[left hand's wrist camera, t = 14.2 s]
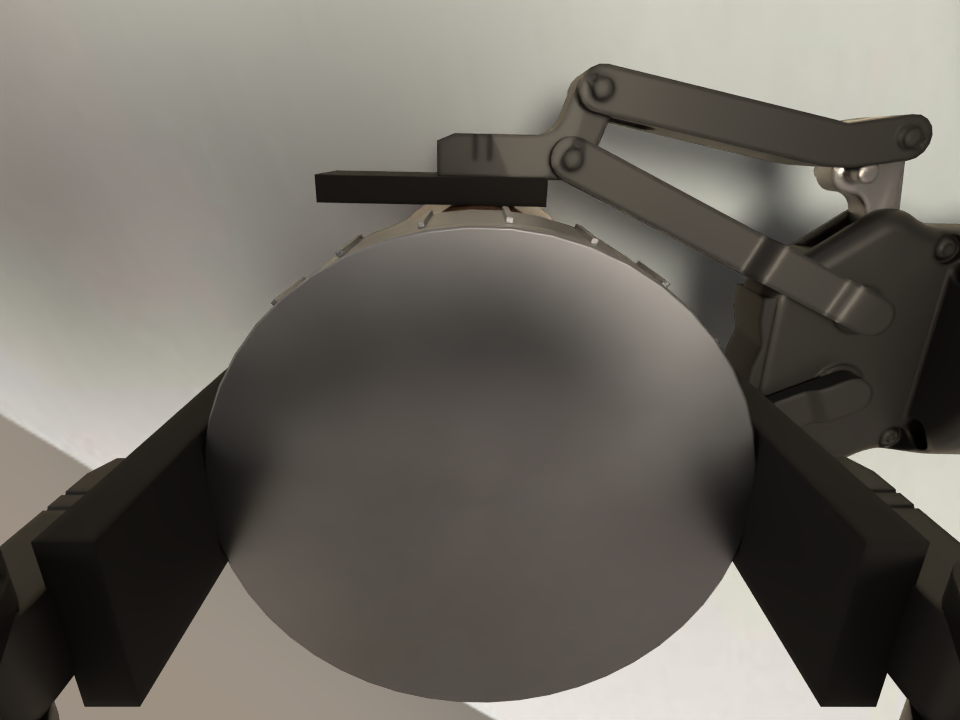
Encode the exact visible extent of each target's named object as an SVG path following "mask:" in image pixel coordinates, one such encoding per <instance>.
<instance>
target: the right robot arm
mask: <svg viewBox="0 0 960 720" xmlns="http://www.w3.org/2000/svg"><path fill="white" fill-rule="evenodd" d="M607 123H611V124H616V125H620V126H624V127H628V128H632V129H637V130H641V131H645V132H649V133H653V134H658V135H662V136H666V137H670V138H674V139H679V140H683V141H687V142H691V143H695V144H700V145H704V146H708V147H712V148H716V149H721V150H725V151H729V152H733V153H737V154H742V155H746V156H750V157H754V158H758V159H763V160H767V161H771V162H776V163H782V164H788V165H802V166H815V168H814V175H815V177H816V179H817V181H818V184H819V185H820V186H821V187H822V188H823V189H825V190H829V191H835V192H839V193H841V194H842V195H843V196H844V197H845V198H846V200H847V202H848V210H846V211H844V212H842V213H841V214H839V215H838V216H836V217H834V218H833V219H831V220H829V221H828V222H826V223H825V224H823V225H821V226H820V227H818V228H817V229H815V230H813V231H812V232H810V233H808V234H807V235H805V236H804V237H802V238H800V239H799V240H797V241H796V242H794V243H792V244H791V245H789V246H786V245H784V244H782V243H780V242H777V241H775V240H773V239H771V238H768V237H766V236H764V235H762V234H761V233H759V232H757V231H755V230H753V229H751V228H749V227H748V226H746V225H744V224H742V223H740V222H738V221H736V220H735V219H733V218H731V217H729V216H727V215H725V214H723V213H722V212H720V211H718V210H716V209H714V208H712V207H710V206H709V205H707V204H705V203H703V202H701V201H699V200H697V199H695V198H694V197H692V196H690V195H688V194H686V193H684V192H682V191H681V190H679V189H677V188H675V187H673V186H671V185H669V184H668V183H666V182H664V181H662V180H660V179H658V178H656V177H655V176H653V175H651V174H649V173H647V172H645V171H643V170H641V169H640V168H638V167H636V166H634V165H632V164H630V163H628V162H627V161H625V160H623V159H621V158H619V157H617V156H615V155H614V154H612V153H610V152H608V151H606V150H604V149H602V148H601V147H599V146H598V144H599V142H600V140H601V137H602V135H603V133H604V130H605V128H606V126H607ZM931 138H932V125H931V124H930V122H929V120H928V119H927V118H926V117H924V116H922V115H916V114H910V115H896V116H881V117H867V118H856V119H849V120H842V121H839V120H835V119H830V118H826V117H822V116H818V115H814V114H810V113H806V112H802V111H798V110H794V109H790V108H786V107H782V106H778V105H774V104H769V103H765V102H761V101H757V100H753V99H749V98H745V97H741V96H737V95H733V94H729V93H725V92H721V91H717V90H712V89H708V88H704V87H700V86H696V85H692V84H688V83H684V82H680V81H676V80H672V79H668V78H664V77H660V76H656V75H651V74H647V73H643V72H639V71H635V70H631V69H627V68H623V67H619V66H615V65H611V64H598V65H596V66H593V67H591V68H590V69H588V70H587V71H585V72H584V73H582V74H581V75H580V76H578V77H577V78H576V79H575V80H574V81H573V82H572V83H571V85H570V87H569V89H568V93H567V98H566V100H565V103H564V105H563V108H562V110H561V113H560V115H559V118H558V120H557V121H556V123H555V125H554V126H553V127H552V128H551V129H550V130H548V131H547V132H546V133H543V134H541V135H508V134H462V133H455V134H452V135H450V136H447V137H445V138H442V139H440V140H437V173H433V172H385V171H338V170H337V171H331V172H326V173H320V174H315V185H316V198H317V202H326V203H374V204H423V205H471V206H519V207H546V201H547V184H548V180H563V181H565V182H567V183H568V184H570V185H572V186H574V187H576V188H578V189H580V190H582V191H584V192H586V193H588V194H590V195H591V196H593V197H595V198H597V199H599V200H601V201H603V202H605V203H607V204H609V205H611V206H613V207H614V208H616V209H618V210H620V211H622V212H624V213H626V214H628V215H630V216H632V217H634V218H636V219H638V220H639V221H641V222H643V223H645V224H647V225H649V226H651V227H653V228H655V229H657V230H659V231H661V232H662V233H664V234H666V235H668V236H670V237H672V238H674V239H676V240H678V241H680V242H682V243H684V244H685V245H687V246H689V247H691V248H693V249H695V250H697V251H699V252H701V253H703V254H705V255H707V256H709V257H710V258H712V259H714V260H716V261H718V262H720V263H722V264H724V265H725V266H727V267H729V268H731V269H733V270H735V271H737V272H739V273H741V274H743V275H745V276H747V277H748V278H747V279H746V281H745V283H744V284H737V288H736V294H735V299H734V305H733V306H734V317H735V330H734V332H733V334H732V336H731V338H730V340H729V343H728V345H727V347H726V350H725V355H726V357H727V358H728V360H729V361H730V363H731V365H732V366H733V368H734V369H735V370H736V371H737V372H738V373H739V374H740V375H741V376H743V377H744V378H745V379H746V380H747V381H748V382H749V383H751V384H752V385H753V386H754V387H755V388H756V389H757V390H758V391H760V392H761V393H762V394H763V395H764V396H765V397H766V398H768V399H769V400H770V401H771V402H772V403H773V404H774V405H775V406H777V407H778V408H779V409H780V410H781V411H782V412H783V413H785V414H786V415H787V416H788V417H789V418H790V419H791V420H792V421H794V422H795V423H796V424H797V425H798V426H799V427H800V428H801V429H803V430H804V431H805V432H806V433H807V434H808V435H809V436H811V437H812V438H813V439H814V440H815V441H816V442H817V443H818V444H820V445H821V446H822V447H823V448H824V449H825V450H826V451H828V452H829V453H830V454H831V455H832V456H845V457H848V456H850V455H853V454H855V453H857V452H860V451H863V450H867V449H871V448H888V449H895V450H901V451H908V452H916V453H927V454H960V224H929V223H922V222H920V221H918V220H917V219H915V218H914V217H913V216H911V215H910V214H908V213H906V212H904V211H902V210H899V209H900V200H901V191H902V182H903V174H904V165H905V161H908V160H911V159H914V158H916V157H918V156H919V155H920V154H922V153H923V152H924V151H925V149H926V148H927V147H928V145H929V144H930V141H931Z"/></svg>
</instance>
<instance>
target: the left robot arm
mask: <svg viewBox="0 0 960 720" xmlns="http://www.w3.org/2000/svg"><path fill="white" fill-rule="evenodd" d="M227 369H228V368H227ZM227 369H226V370H225V371H224V372H223V373H221V374H220V375H219V376H218V377H217V378H216V379H215V380H213V381H212V382H211V383H210V384H209V385H208V386H207V387H206V388H204V389H203V390H202V391H201V392H200V393H199V394H198V395H197V396H195V397H194V398H193V399H192V400H191V401H190V402H189V403H187V404H186V405H185V406H184V407H183V408H182V409H181V410H180V411H178V412H177V413H176V414H175V415H174V416H173V417H172V418H170V419H169V420H168V421H167V422H166V423H165V424H164V425H163V426H161V427H160V428H159V429H158V430H157V431H156V432H155V433H154V434H152V435H151V436H150V437H149V438H148V439H147V440H146V441H144V442H143V443H142V444H141V445H140V446H139V447H138V448H137V449H135V450H134V451H133V452H132V453H131V454H130V455H129V456H127V457H126V458H117V459H115V460H113V461H111V462H109V463H107V464H105V465H103V466H101V467H99V468H97V469H95V470H93V471H91V472H89V473H87V474H86V475H85V476H84V477H83V478H81V479H80V480H79V481H78V482H77V483H75V484H74V485H73V486H72V487H71V488H69V489H68V490H67V491H66V494H65V495H61V496H60V497H59V498H57V499H56V500H55V501H54V502H53V503H51V504H50V505H49V506H48V509H47V511H42V512H41V513H39V514H38V515H37V516H36V517H35V518H34V519H32V520H31V521H30V522H29V523H28V524H26V525H25V526H24V527H23V528H22V529H20V530H19V531H18V532H17V533H16V534H14V535H13V536H12V537H11V538H10V539H8V540H7V541H6V542H5V543H4V544H2V545H1V546H0V720H59V714H58V711H57V708H56V705H55V702H54V701H55V699H56V698H57V697H58V695H59V694H60V693H61V692H62V690H63V689H64V688H65V686H66V685H67V684H68V682H69V681H70V680H71V678H72V677H73V676H75V679H76V682H77V684H78V688H79V691H80V694H81V697H82V700H83V703H84V706H85V707H140V706H141V704H142V702H143V701H144V699H145V697H146V696H147V694H148V693H149V691H150V689H151V688H152V686H153V684H154V683H155V681H156V679H157V678H158V676H159V674H160V673H161V671H162V669H163V668H164V666H165V664H166V663H167V661H168V659H169V658H170V656H171V654H172V653H173V651H174V649H175V648H176V646H177V644H178V643H179V641H180V640H181V638H182V636H183V635H184V633H185V631H186V630H187V628H188V626H189V625H190V623H191V621H192V620H193V618H194V617H195V615H196V613H197V612H198V610H199V608H200V607H201V605H202V603H203V602H204V600H205V598H206V597H207V595H208V593H209V592H210V590H211V588H212V587H213V585H214V583H215V582H216V580H217V579H218V577H219V575H220V573H221V572H222V570H223V569H224V567H225V565H226V564H227V562H228V560H227V557H226V555H225V553H224V551H223V549H222V547H221V545H220V543H219V540H218V535H217V531H216V526H215V521H214V516H213V510H212V505H211V500H210V495H209V489H208V484H207V479H206V473H205V443H206V436H207V429H208V423H209V416H210V413H211V410H212V407H213V404H214V401H215V397H216V394H217V391H218V388H219V385H220V383H221V381H222V379H223V377H224V375H225V373H226V371H227ZM734 371H735V373H736V376H737V378H738V380H739V383H740V385H741V388H742V390H743V392H744V395H745V397H746V400H747V404H748V409H749V413H750V417H751V421H752V425H753V429H754V439H755V451H756V470H755V476H754V481H753V487H752V492H751V497H750V502H749V508H748V513H747V518H746V523H745V528H744V533H743V537H742V540H741V543H740V545H739V548H738V550H737V553H736V555H735V557H734V559H733V560H732V561H733V563H734V564H735V566H736V568H737V569H738V571H739V573H740V574H741V576H742V577H743V579H744V581H745V582H746V584H747V586H748V587H749V589H750V591H751V592H752V594H753V596H754V597H755V599H756V601H757V602H758V604H759V606H760V607H761V609H762V611H763V612H764V614H765V615H766V617H767V619H768V620H769V622H770V624H771V625H772V627H773V629H774V630H775V632H776V634H777V635H778V637H779V639H780V640H781V642H782V644H783V645H784V647H785V649H786V650H787V652H788V653H789V655H790V657H791V658H792V660H793V662H794V663H795V665H796V667H797V668H798V670H799V672H800V673H801V675H802V677H803V678H804V680H805V682H806V683H807V685H808V687H809V688H810V690H811V691H812V693H813V695H814V696H815V698H816V700H817V701H818V703H819V705H820V706H821V707H876V705H877V702H878V699H879V696H880V693H881V690H882V687H883V684H884V681H885V678H886V675H887V673H888V674H889V676H890V677H891V678H892V680H893V681H894V682H895V683H896V685H897V686H898V687H899V689H900V690H901V691H902V692H903V694H904V695H905V696H906V698H907V699H906V702H905V705H904V708H903V711H902V714H901V716H900V719H899V720H960V542H958V541H957V540H956V539H955V538H954V537H952V536H951V535H950V534H949V533H948V532H946V531H945V530H944V529H943V528H942V527H940V526H939V525H938V524H937V523H936V522H934V521H933V520H932V519H931V518H929V517H928V516H927V515H926V514H925V513H923V512H922V511H921V510H920V509H915V508H914V504H913V503H911V502H910V501H909V500H908V499H907V498H905V497H904V496H903V495H902V494H901V493H896V489H895V488H893V487H892V486H891V485H890V484H889V483H887V482H886V481H885V480H884V479H882V478H881V477H880V476H879V475H878V474H876V473H875V472H874V471H872V470H870V469H868V468H866V467H864V466H862V465H860V464H858V463H856V462H854V461H852V460H850V459H849V458H847V457H845V456H832V455H831V454H830V453H829V452H828V451H826V450H825V449H824V448H823V447H822V446H821V445H820V444H818V443H817V442H816V441H815V440H814V439H813V438H812V437H811V436H809V435H808V434H807V433H806V432H805V431H804V430H803V429H801V428H800V427H799V426H798V425H797V424H796V423H795V422H794V421H792V420H791V419H790V418H789V417H788V416H787V415H786V414H785V413H783V412H782V411H781V410H780V409H779V408H778V407H777V406H775V405H774V404H773V403H772V402H771V401H770V400H769V399H768V398H766V397H765V396H764V395H763V394H762V393H761V392H760V391H758V390H757V389H756V388H755V387H754V386H753V385H752V384H751V383H749V382H748V381H747V380H746V379H745V378H744V377H743V376H741V375H740V374H739V373H738V372H737V371H736V370H735V369H734Z"/></svg>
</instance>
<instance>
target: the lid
mask: <svg viewBox="0 0 960 720" xmlns="http://www.w3.org/2000/svg"><path fill="white" fill-rule="evenodd" d="M669 285H670V283H668V282H667V281H666V280H665V279H663V278H662V277H661V276H659V275H658V274H656V273H655V272H654V271H652V270H651V269H650V268H648V267H647V266H645V265H644V264H643V263H641V262H640V261H638V262H637V263H636V264H635V263H634V262H633V261H631V260H630V259H629V258H627V257H626V256H624V255H623V254H621V253H620V252H618V251H617V250H615V249H614V248H612V247H610V246H609V245H607V244H606V243H604V242H603V241H601V240H599V239H597V238H596V237H595V236H594V235H592V234H591V233H590V232H589V231H587V230H586V229H585V228H583V227H582V226H581V225H578V224H576V225H575V228H574V227H572V226H569V225H566V224H562V223H559V222H556V221H553V220H549V219H546V218H543V217H540V216H535V215H529V214H523V213H517V212H511V211H510V209H509V207H506V206H503V207H502V210H461V211H452V212H442V213H435V214H433V211H432V210H428V211H426V212H425V213H424V215H423V216H422V217H419V218H415V219H410V220H406V221H403V222H400V223H398V224H395V225H393V226H390V227H388V228H385V229H383V230H380V231H378V232H375V233H373V234H371V235H369V236H367V237H365V238H363V236H362V235H359V236H357V237H356V238H354V239H353V240H352V241H350V242H349V243H348V244H346V245H345V246H344V247H342V248H341V249H340V250H338V251H337V252H336V256H335V257H334V258H333V259H331V260H330V261H329V262H327V263H326V264H325V265H324V266H322V267H321V268H320V269H318V270H317V271H316V272H314V273H313V274H312V275H311V276H309V277H308V278H307V279H306V278H305V277H303V278H302V279H301V280H299V281H298V282H297V283H295V284H294V285H293V286H291V287H290V288H289V289H287V290H286V291H285V292H283V293H282V294H281V295H279V296H278V297H277V298H275V299H274V300H273V301H272V302H271V304H272V305H273V307H272V308H271V309H270V310H269V311H268V312H267V313H266V314H265V316H264V317H263V318H262V319H261V320H260V321H259V322H258V323H257V324H256V325H255V326H254V328H253V329H252V331H251V332H250V333H249V335H248V336H247V338H246V339H245V340H244V342H243V343H242V345H241V346H240V347H239V349H238V350H237V352H236V353H235V355H234V357H233V359H232V361H231V363H230V365H229V367H228V369H227V371H226V373H225V375H224V377H223V379H222V381H221V383H220V385H219V388H218V391H217V394H216V397H215V401H214V404H213V407H212V410H211V413H210V416H209V423H208V429H207V436H206V443H205V473H206V479H207V484H208V489H209V495H210V500H211V505H212V510H213V516H214V521H215V526H216V531H217V535H218V540H219V543H220V545H221V547H222V549H223V551H224V553H225V555H226V557H227V560H228V562H229V564H230V566H231V568H232V569H233V571H234V573H235V574H236V576H237V577H238V579H239V580H240V582H241V583H242V585H243V586H244V588H245V590H246V591H247V593H248V594H249V595H250V596H251V598H252V599H253V600H254V601H255V602H256V603H257V605H258V606H259V607H260V608H261V609H262V610H263V612H264V613H265V614H266V615H267V616H268V617H269V618H270V619H271V620H272V621H273V622H274V623H275V624H276V625H277V626H278V627H280V628H281V629H282V630H283V631H284V632H285V633H286V634H287V635H288V636H289V637H290V638H292V639H293V640H295V641H296V642H297V643H299V644H300V645H302V646H303V647H304V648H306V649H307V650H308V651H310V652H311V653H313V654H314V655H315V656H317V657H319V658H321V659H322V660H324V661H326V662H328V663H329V664H331V665H333V666H335V667H336V668H338V669H340V670H342V671H344V672H346V673H349V674H351V675H353V676H356V677H358V678H360V679H362V680H365V681H367V682H369V683H372V684H376V685H379V686H382V687H385V688H388V689H391V690H394V691H397V692H401V693H406V694H411V695H415V696H420V697H425V698H430V699H439V700H447V701H456V702H501V701H514V700H523V699H529V698H534V697H540V696H546V695H551V694H554V693H558V692H562V691H565V690H569V689H573V688H576V687H580V686H582V685H585V684H587V683H590V682H592V681H595V680H598V679H600V678H603V677H605V676H608V675H610V674H612V673H614V672H616V671H618V670H620V669H621V668H623V667H625V666H627V665H629V664H631V663H633V662H635V661H637V660H638V659H640V658H641V657H643V656H644V655H646V654H647V653H649V652H650V651H652V650H653V649H655V648H656V647H658V646H659V645H661V644H662V643H663V642H664V641H665V640H667V639H668V638H669V637H670V636H672V635H673V634H674V633H675V632H676V631H678V630H679V629H680V628H681V627H682V626H683V625H684V624H685V623H686V622H687V621H688V620H689V619H690V618H691V617H692V616H693V615H694V614H695V613H696V612H697V611H698V610H699V609H700V608H701V607H702V605H703V604H704V603H705V602H706V600H707V599H708V598H709V596H710V595H711V594H712V592H713V591H714V590H715V588H716V587H717V586H718V584H719V583H720V581H721V580H722V578H723V577H724V575H725V573H726V571H727V569H728V568H729V566H730V564H731V562H732V560H733V559H734V557H735V555H736V553H737V550H738V548H739V545H740V543H741V540H742V537H743V533H744V528H745V523H746V518H747V513H748V508H749V502H750V497H751V492H752V487H753V481H754V476H755V470H756V451H755V439H754V429H753V425H752V421H751V417H750V413H749V409H748V404H747V400H746V397H745V395H744V392H743V390H742V388H741V385H740V383H739V380H738V378H737V376H736V373H735V371H734V368H733V366H732V365H731V363H730V361H729V360H728V358H727V357H726V355H725V353H724V352H723V350H722V348H721V347H720V345H719V344H720V343H719V341H718V340H717V339H716V338H715V337H714V336H713V335H712V333H711V332H710V331H709V330H708V329H707V328H706V326H705V325H704V324H703V323H702V322H701V320H700V319H699V318H698V317H697V316H696V314H695V313H694V312H693V311H692V310H691V309H690V308H689V307H688V306H687V305H686V304H685V303H683V302H682V301H681V300H680V299H679V298H678V297H677V296H675V295H674V294H673V293H672V292H671V291H670V290H669V289H667V287H668V286H669Z"/></svg>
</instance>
